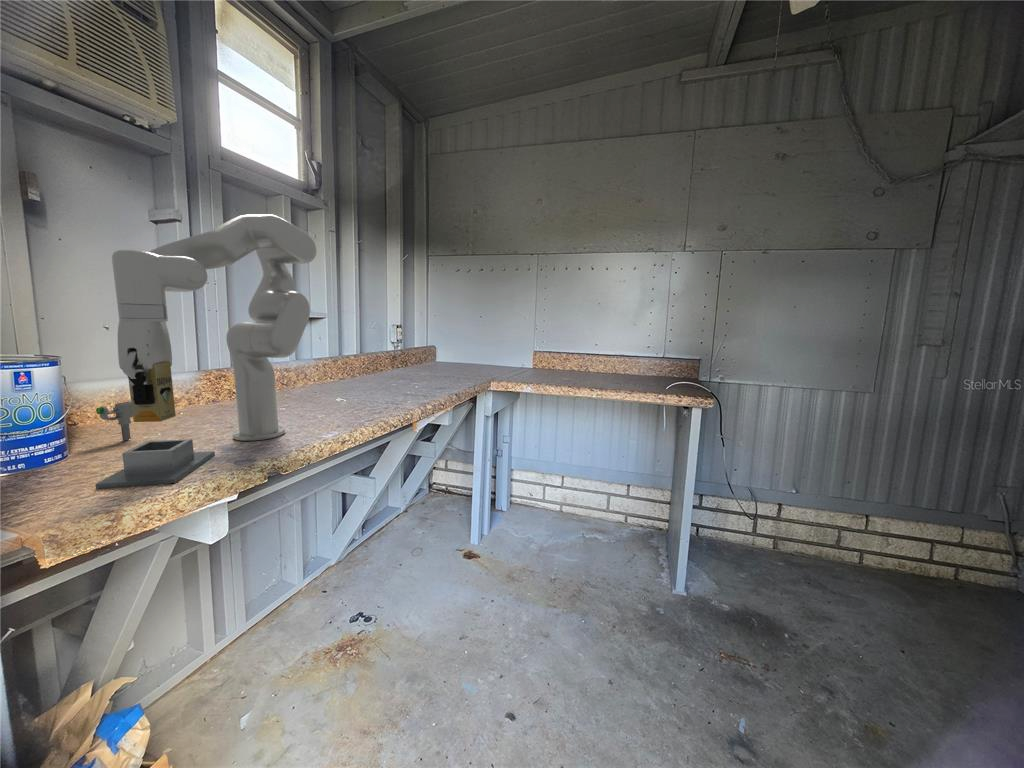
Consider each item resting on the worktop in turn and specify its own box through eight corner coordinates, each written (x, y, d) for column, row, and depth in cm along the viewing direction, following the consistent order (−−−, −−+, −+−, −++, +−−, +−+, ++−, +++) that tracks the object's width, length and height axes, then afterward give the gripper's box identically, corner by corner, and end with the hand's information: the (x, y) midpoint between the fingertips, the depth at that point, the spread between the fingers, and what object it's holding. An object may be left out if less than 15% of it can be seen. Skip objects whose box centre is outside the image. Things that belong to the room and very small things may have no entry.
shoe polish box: (175, 416, 91) (170, 361, 89) (160, 421, 86) (154, 363, 85) (150, 416, 90) (144, 361, 89) (133, 422, 86) (126, 363, 84)
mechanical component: (99, 444, 107) (94, 406, 105) (145, 434, 116) (141, 399, 115) (106, 446, 106) (101, 407, 104) (152, 435, 115) (148, 400, 114)
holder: (151, 458, 97) (148, 435, 97) (214, 455, 100) (212, 433, 100) (96, 489, 80) (92, 461, 79) (174, 483, 83) (171, 457, 82)
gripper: (147, 314, 92) (155, 395, 95) (90, 313, 76) (103, 410, 79) (186, 314, 94) (193, 394, 97) (139, 313, 78) (150, 409, 81)
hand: (153, 400), depth 88 cm, fingers closed on shoe polish box, 5 cm apart
